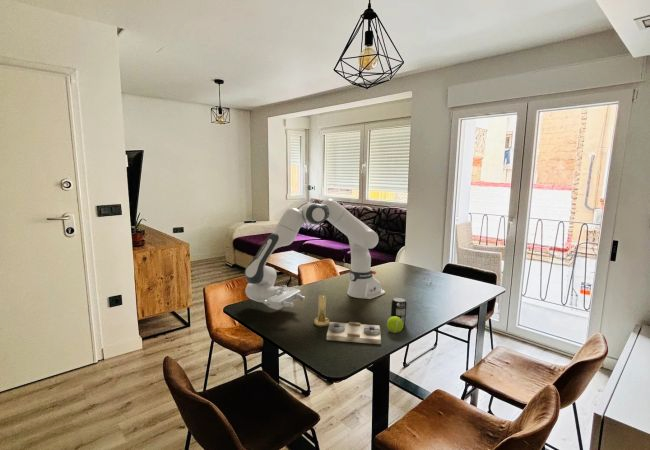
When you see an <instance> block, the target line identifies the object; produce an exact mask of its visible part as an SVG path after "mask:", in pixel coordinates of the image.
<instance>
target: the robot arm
mask: <svg viewBox="0 0 650 450" xmlns="http://www.w3.org/2000/svg"><path fill="white" fill-rule="evenodd" d="M326 220H327V221H328V222H329V223H330V224H331V225H332V226H334V227H335V228H336V229H337V230H338V231H340V232H341V233H342V234H344V235H345V236H346V237H347V239H348V244H349V250H350V258H351V259H350V269H349V284H348V289H347V291H346V292H347V293H346V294H347V295H348V296H349V297H353V298H356V299H365V300H366V299H367V300H371V299H374V298H377V297H379V296H381V295H385V294H386V291H385V290H384V289H382V284H381V282H380V281H379V280H378V279H376V277H374V275H376V274H377V271H376V270H373V269H372V270H371V265H372V264H371V263H372V257H371V254H370V250H371V249H374V248H375V247H376V246H377V245H378V244H379V240H380V238H379V235H378V233H377V232H375V230H373V229H372V228H370V227H369V226H368V225H367V224H366V223H364V222H363V221H361V220H360V219H359V218H357V217H356V216H354V215H353V214H352V213H351V212H350V211H349V210H347V208H345V207H344V206H343V205H342V204H341V203H339V202H337V201H336V200H334V199H332V198H325V199H323V200H322V201H321V203H315V202H305V203H303V204H301V205H300V206H299V207H297V208H296V207H289V208H287V209H286V210H285V211H284V213H283V215H282V216H281V217H280V219H279V221H278V223H277V225H276V227H275V229H274V230H273V232H271V233H270V234H269V235H268V236H267V237H266V238H265V239H264V242H263V243H262V245H261V246H260V247H259V249H258V251H257V252H256V254H255V256H254V257H253V258H252V260H251V261H250V262H249V263H248V264H247V266H246V267H245V270H244V277H245V280H246V281H247V284H246V285H245V286H246V287H245V291H244V292H245V295H246V297H248V299H250V300H252V301H255V302H258V303H262V304H264V305H266V306H267V307H268V308H270V309H273V310H276V311H277V310H281V309H282V308H287V307H290V308H293V307H294V306H295V302H294V301H296V300H300V301H305V299H306V297H305V296H303V295H302V291H301V290H300V289H299V288H294V287H290V286H289V287H288V286H287V285H285V284H283V285H279V286H277V285H276V286H275V284H276V282H277V277H278V273H277V270H276V269H275V268H274V267H272V266H269V265H266V264H267V262H268V260H269V258H271V255H272V254H273V253H274V251H275V250H277V249H278V248H281V247H286V246H287V247H288V246H290V245H291V244H292V243H293V242H294V241H295V240H296V237H297V235H298V234H299V231H300V229H301V228H302V226H303V225H304V224H309V225H321V224H322V223H324V222H325V221H326ZM369 249H370V250H369Z"/></svg>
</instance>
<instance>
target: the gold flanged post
mask: <svg viewBox="0 0 650 450" xmlns="http://www.w3.org/2000/svg"><path fill="white" fill-rule="evenodd" d="M317 305H318V308H317V317H315V318H314V319H313V325H314V326H315V327H318V328H326V327H329V323H330V319H329V318H328V317H327V316H326V315H327V314H326V311H327V295H325V294H320V295H318V301H317Z"/></svg>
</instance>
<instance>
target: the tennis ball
mask: <svg viewBox="0 0 650 450" xmlns="http://www.w3.org/2000/svg"><path fill="white" fill-rule="evenodd" d="M386 327H387V329H388V331H389V332H391V333H394V334H398V333H400V332H401V331H402V330H403V328H404V326H403V321H402V320H401V319H400V318H399V317H397V316H392V317H391V316H390V317H389V318H388V319H387V322H386Z"/></svg>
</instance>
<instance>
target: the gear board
mask: <svg viewBox="0 0 650 450" xmlns="http://www.w3.org/2000/svg"><path fill="white" fill-rule="evenodd" d="M380 326H381V325H378V324H377V325H376V324H365V323H364V324H362V323H361V322H356V321H355V322H353V321H348V322H336V321H329V325H328V328H327V332H326V340H327V341H336V342H337V341H338V342H350V343H351V342H352V343H360V344H361V343H363V344H375V345H381V344H382V337H381V327H380Z"/></svg>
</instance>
